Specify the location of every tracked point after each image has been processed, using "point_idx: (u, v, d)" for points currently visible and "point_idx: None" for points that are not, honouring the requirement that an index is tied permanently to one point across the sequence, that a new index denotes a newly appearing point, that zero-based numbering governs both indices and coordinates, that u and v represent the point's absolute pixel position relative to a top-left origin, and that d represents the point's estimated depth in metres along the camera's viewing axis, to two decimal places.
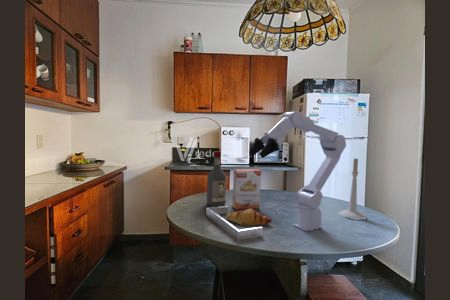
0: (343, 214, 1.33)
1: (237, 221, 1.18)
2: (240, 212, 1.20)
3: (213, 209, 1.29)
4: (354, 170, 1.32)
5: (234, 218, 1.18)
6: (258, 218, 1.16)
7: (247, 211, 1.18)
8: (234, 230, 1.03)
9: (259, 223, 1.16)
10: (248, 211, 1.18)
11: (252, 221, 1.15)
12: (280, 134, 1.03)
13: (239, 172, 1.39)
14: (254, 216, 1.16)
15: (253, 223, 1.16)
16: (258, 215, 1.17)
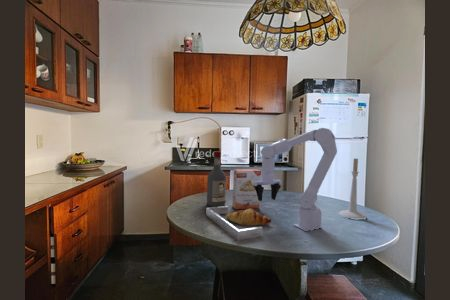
0: (343, 214, 1.33)
1: (237, 221, 1.18)
2: (240, 212, 1.20)
3: (213, 209, 1.29)
4: (354, 170, 1.32)
5: (234, 218, 1.18)
6: (258, 218, 1.16)
7: (247, 211, 1.18)
8: (234, 230, 1.03)
9: (259, 223, 1.16)
10: (248, 211, 1.18)
11: (252, 221, 1.15)
12: (262, 174, 1.22)
13: (239, 172, 1.39)
14: (254, 216, 1.16)
15: (253, 223, 1.16)
16: (258, 215, 1.17)
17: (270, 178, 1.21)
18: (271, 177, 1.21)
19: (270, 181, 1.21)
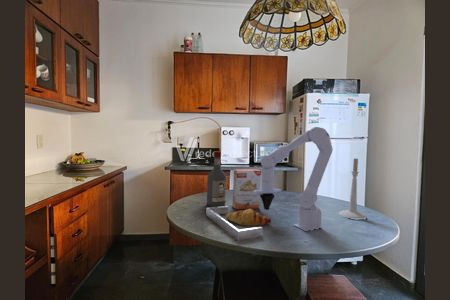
0: (343, 214, 1.33)
1: (237, 221, 1.18)
2: (240, 212, 1.20)
3: (213, 209, 1.29)
4: (354, 170, 1.32)
5: (234, 218, 1.18)
6: (257, 218, 1.16)
7: (247, 211, 1.18)
8: (234, 230, 1.03)
9: (258, 223, 1.16)
10: (248, 211, 1.18)
11: (251, 222, 1.15)
12: (262, 183, 1.23)
13: (239, 172, 1.39)
14: (253, 216, 1.16)
15: (252, 223, 1.16)
16: (258, 215, 1.17)
17: (270, 188, 1.21)
18: (271, 187, 1.21)
19: (270, 191, 1.21)
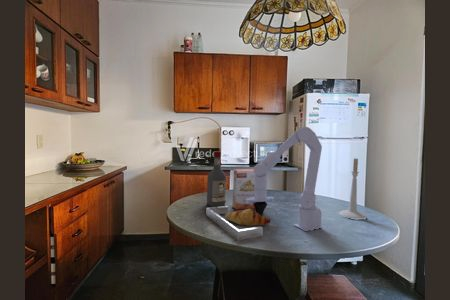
0: (343, 214, 1.33)
1: (236, 221, 1.18)
2: (239, 212, 1.19)
3: (213, 209, 1.29)
4: (354, 170, 1.32)
5: (233, 218, 1.18)
6: (257, 218, 1.15)
7: (246, 211, 1.18)
8: (234, 230, 1.03)
9: (258, 223, 1.15)
10: (247, 211, 1.17)
11: (251, 222, 1.15)
12: (254, 192, 1.21)
13: (239, 172, 1.39)
14: (253, 216, 1.15)
15: (252, 223, 1.15)
16: (257, 215, 1.16)
17: (262, 196, 1.20)
18: (263, 195, 1.20)
19: (262, 199, 1.20)
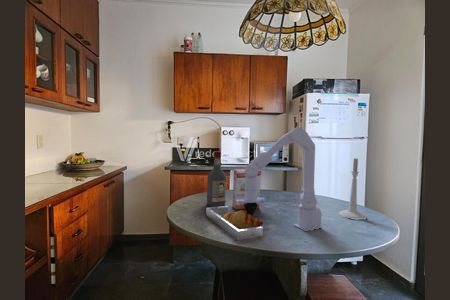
0: (343, 214, 1.33)
1: None
2: (231, 214, 1.16)
3: (213, 209, 1.29)
4: (354, 170, 1.32)
5: None
6: (249, 220, 1.12)
7: (238, 213, 1.14)
8: (234, 230, 1.03)
9: (250, 226, 1.12)
10: (239, 213, 1.14)
11: (243, 224, 1.12)
12: (245, 192, 1.19)
13: (239, 172, 1.39)
14: (245, 218, 1.12)
15: (244, 225, 1.12)
16: (249, 217, 1.13)
17: (253, 197, 1.18)
18: (254, 196, 1.18)
19: (253, 200, 1.18)
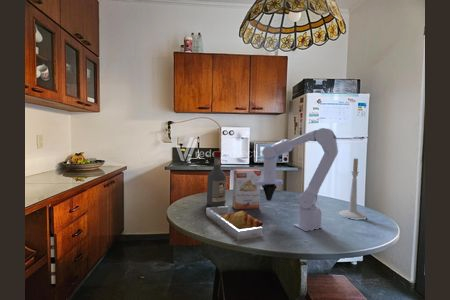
0: (343, 214, 1.33)
1: None
2: (231, 214, 1.16)
3: (213, 209, 1.29)
4: (354, 170, 1.32)
5: None
6: (248, 221, 1.12)
7: (238, 213, 1.14)
8: (234, 230, 1.03)
9: (249, 226, 1.12)
10: (239, 213, 1.14)
11: (242, 224, 1.11)
12: (264, 174, 1.23)
13: (239, 172, 1.39)
14: (244, 219, 1.12)
15: (243, 226, 1.12)
16: (249, 218, 1.13)
17: (272, 178, 1.21)
18: (273, 177, 1.22)
19: (272, 181, 1.21)
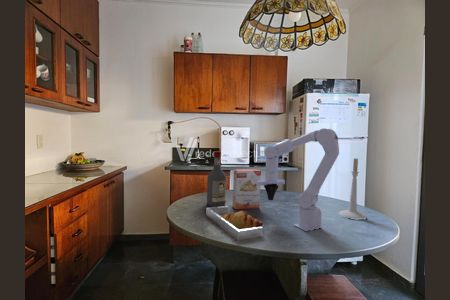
0: (343, 214, 1.33)
1: None
2: (231, 214, 1.16)
3: (213, 209, 1.29)
4: (354, 170, 1.32)
5: None
6: (248, 221, 1.11)
7: (238, 213, 1.14)
8: (234, 230, 1.03)
9: (249, 226, 1.11)
10: (238, 213, 1.14)
11: (242, 224, 1.11)
12: (266, 174, 1.23)
13: (239, 172, 1.39)
14: (244, 219, 1.12)
15: (243, 226, 1.12)
16: (249, 218, 1.12)
17: (274, 178, 1.22)
18: (275, 177, 1.22)
19: (274, 181, 1.22)
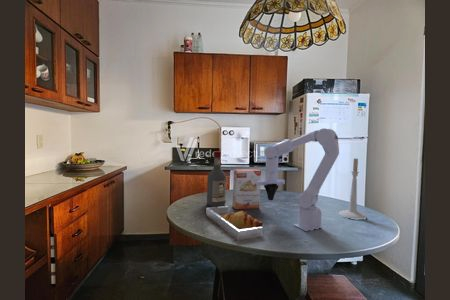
0: (343, 214, 1.33)
1: None
2: (231, 214, 1.16)
3: (213, 209, 1.29)
4: (354, 170, 1.32)
5: None
6: (248, 221, 1.11)
7: (237, 213, 1.14)
8: (234, 230, 1.03)
9: (249, 226, 1.11)
10: (238, 213, 1.14)
11: (242, 224, 1.11)
12: (266, 174, 1.23)
13: (239, 172, 1.39)
14: (244, 219, 1.12)
15: (243, 226, 1.11)
16: (248, 218, 1.12)
17: (274, 178, 1.22)
18: (275, 177, 1.22)
19: (274, 181, 1.22)
